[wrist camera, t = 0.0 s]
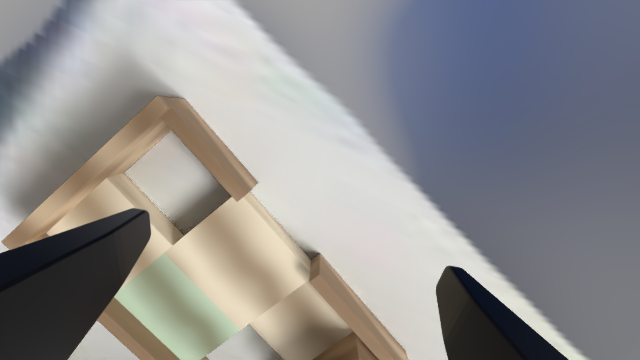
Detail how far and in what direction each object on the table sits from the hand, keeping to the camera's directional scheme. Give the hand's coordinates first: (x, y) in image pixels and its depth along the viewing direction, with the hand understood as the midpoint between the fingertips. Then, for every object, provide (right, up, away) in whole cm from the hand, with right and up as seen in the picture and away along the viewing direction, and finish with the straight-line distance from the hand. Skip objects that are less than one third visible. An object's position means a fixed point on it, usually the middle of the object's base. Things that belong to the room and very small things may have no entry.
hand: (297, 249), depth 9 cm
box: (-7, -8, +18) cm, 20 cm away
